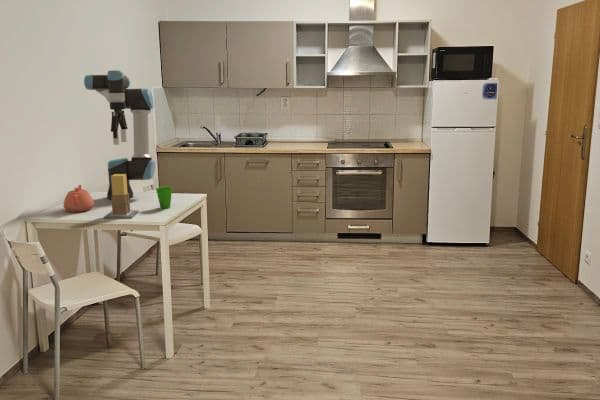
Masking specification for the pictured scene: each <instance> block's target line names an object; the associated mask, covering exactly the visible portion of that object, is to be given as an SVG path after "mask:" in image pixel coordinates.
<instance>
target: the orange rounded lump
mask: <svg viewBox="0 0 600 400" xmlns="http://www.w3.org/2000/svg"><path fill="white" fill-rule="evenodd" d="M73 189H74V190H69V191H68V192H67V194H66V196H65V198H64V201H63V209H64V210H65V211H67V212H71V213H79V212H87V211H90V210H91V209H92V208H93V206H94V203H95V202H94V199H93V197H92V196H91V194H90V193H89V192H88V190H87V189H83V188H82V185H81V184H78V186H77V187H74V188H73Z"/></svg>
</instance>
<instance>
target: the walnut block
mask: <svg viewBox="0 0 600 400" xmlns="http://www.w3.org/2000/svg"><path fill="white" fill-rule="evenodd" d="M111 198H112V199H111V208H112V210H111V211H113V215H127V214H128V213H129V212H130V210H131V206H130V205H131V204H130V198H129V193H127V194H126V195H112V196H111Z"/></svg>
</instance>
